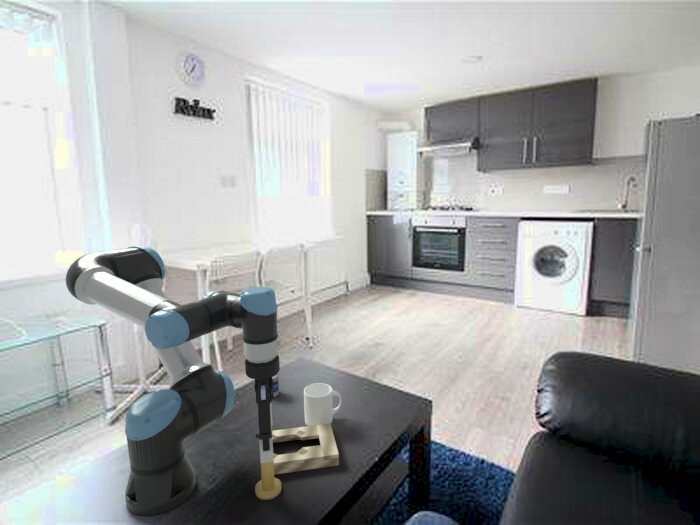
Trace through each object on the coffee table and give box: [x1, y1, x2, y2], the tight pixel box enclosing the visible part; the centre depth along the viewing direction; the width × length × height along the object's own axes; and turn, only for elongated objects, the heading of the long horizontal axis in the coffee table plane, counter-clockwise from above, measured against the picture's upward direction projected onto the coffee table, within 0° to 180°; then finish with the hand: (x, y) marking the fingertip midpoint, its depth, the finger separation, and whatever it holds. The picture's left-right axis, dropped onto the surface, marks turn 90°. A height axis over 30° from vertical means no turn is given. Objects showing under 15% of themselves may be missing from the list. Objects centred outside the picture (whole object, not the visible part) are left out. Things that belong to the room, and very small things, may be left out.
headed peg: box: [254, 426, 282, 501], centre depth 95 cm, size 6×6×16 cm
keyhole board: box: [272, 423, 340, 476], centre depth 109 cm, size 19×14×3 cm
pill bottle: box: [272, 373, 280, 397], centre depth 140 cm, size 6×6×10 cm
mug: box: [303, 382, 342, 426], centre depth 124 cm, size 9×12×11 cm
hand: (267, 442), depth 94 cm, fingers open, 13 cm apart
